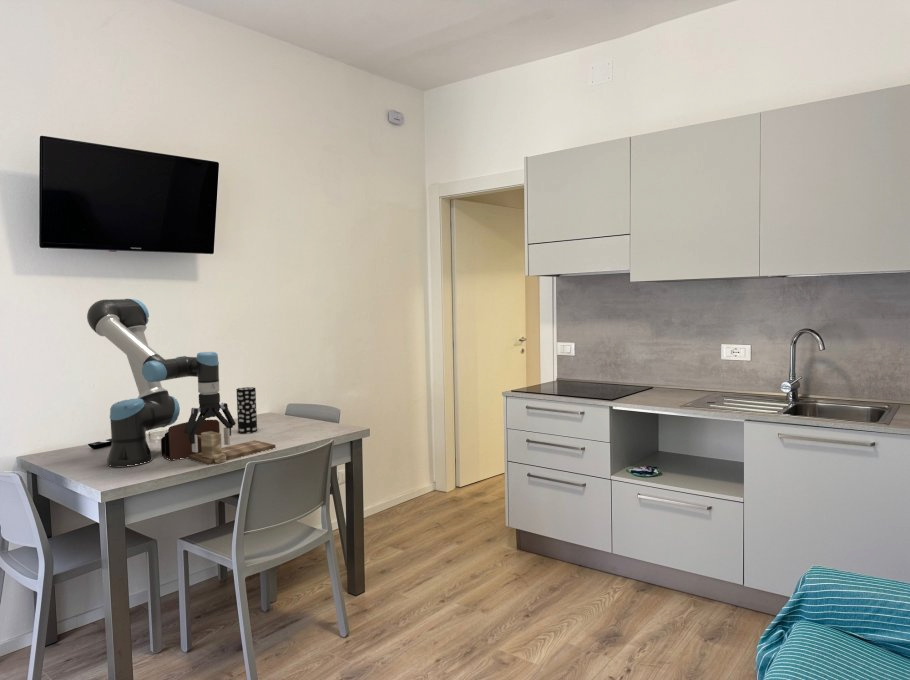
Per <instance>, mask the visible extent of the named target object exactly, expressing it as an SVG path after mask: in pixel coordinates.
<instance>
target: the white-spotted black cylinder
mask: <svg viewBox="0 0 910 680" xmlns="http://www.w3.org/2000/svg"><path fill="white" fill-rule="evenodd" d="M256 390H257V389H256V387H253V386H251V387H250V386H247V387H238V388H236V411H237V433H238V434H240V435H241V434H242V435H244V434H245V435H246V434H247V433H249V434H254V432H255V433H257V432H258V420H257V419H258V416H257V391H256Z"/></svg>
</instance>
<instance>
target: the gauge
mask: <svg viewBox="0 0 910 680" xmlns="http://www.w3.org/2000/svg"><path fill="white" fill-rule="evenodd" d="M197 438H198V439H201V447H202V456H203V457H206V458H210V459H214V460H215V463H214V464H220V463H224V462H226V461H227V460H226V454H224V453H222V448H223V447H222V433H221V432H220V433H216V432H212V431H209V432H204V433H201V435H198V436H197Z"/></svg>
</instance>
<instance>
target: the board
mask: <svg viewBox="0 0 910 680" xmlns="http://www.w3.org/2000/svg"><path fill="white" fill-rule="evenodd" d="M273 448H275V449H277V448H276V444H274V443H269V442H265V441H259V440H254V439H253V440H249V441H246V442H241V443H236V444H233V445H227V446H224V447H222V453H224V454H226V461H229V459H230V460H235V459H238V458H241V456H243V457H246V456H245V455H247V456H250V455H249V454H251V455H254V454H253V453H255V454H258V453H257V452H259V453H262V452H261V451H263V452H266V451H265V450H267V451H269V449H271V450H274V449H273ZM188 457H189V458H188V460H189V459H191V460H190V461H193V460H194V462H197V461H198V463H201V462H202V463H201V464H205V463H206V464H205V465H209V464H210V465H214V464H216V463H215V460H214V459H210V458H206V457H203V456H202V452H201V453H197V454H193V455H188ZM213 463H214V464H213Z"/></svg>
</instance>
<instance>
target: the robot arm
mask: <svg viewBox="0 0 910 680" xmlns="http://www.w3.org/2000/svg"><path fill="white" fill-rule="evenodd" d="M149 318H150V314H149V310H148V308H147V306H146V304H145V303H144V302H142V300H141V301H140V300H139V299H135V298H133V299H131V298H123V299H120V298H119V299H117V298H115V299H100V300H98V301H95V302H94V303H92V304H91V305H90V307H89V308H88V310H87V314H86V320H87V323H88V326H89V327H90V329H92V330H93V331H94V332H95V333H96V335H98V336H99V337H105V338H106V339H107V340H108V341H110V343H112V344H113V345H114V346H115V347H116V348H118V349H119V350H120V351H121V352H122V353H124V354H125V355H126V358H127V360H128V364H129V367H130V370H131V373H132V375H133V379H134V383H135V386H136V387H137V388H136V389H137V391H138V397H137V398H129V399H124V400H121V401H117V402H115V403H113V404H112V405H111V407H110V409H109V410H110V411H109V419H110V433H111V445H110V449H109V452H108V456H107V459H106V460H107V466H108V465H111V466H127V465H135V464H140V463H144V462H148V461H150V460H151V459H152V460H153V454H152V451H151V449H150V446H149V445H148V441H147V434H146V432H147V431H152V430H156V429H159V428H161V429H162V428H166V427H168V426H172V425H174V424H175V423H176V421H177V420H178V418H179V416H180V403H179V401H178V400H177V398H175V397H174V396H172V395H170V394H169V391H168V389H166V388H163V386H162V383H161V382H162V381H168V380H173V379H182V378H186V377H188V378H189V377H195V378H197V390H198V393H199V394H198V404H199V406H198V407H192V408H190V409H191V411H190V412H191V413H190V416H189V418H188V421H187V422H188V423H187V426H186V428H185V431H184V433H185V434H189V436H190V443H191V444H192V452H196V453H197V452H198V440H197V435H195V434H196V432H197V431H198V429H199V427H200V426H201V424H202V423H203V421H204V420H207V419H211V418H217V420H218V421H219V422H220V423H222V424H223V426H224V427H223V444H224V445H226V446H231V436H232V428H233V427H234V426H236V421H235V419H234V418H233V417H234V416H232V414H231V412H230V410H229V408H228V407H229V406H228V403H225V402H222V403H221V395H220V374H219V373H220V372H219V371H220V370H219V369H220V367H219V364H220V363H219V356H218V353H217V352H215V351H203V352H202V351H201V352H198V353H197V354H196V356H186V355H183V356H182V355H181V356H175V358H167V359H166V358H164V357H162V355H160V354H159V353H158V352H156V351H155V350H154V349H153V348H151V347H150V346H149V344H148V341H147V338H146V335H145V331H146V330H147V324H148V323H149ZM220 410H221V411H222V412H221V411H220ZM222 413H223V414H224V415H223V414H222ZM224 416H225V417H224ZM195 421H196V422H195ZM194 423H195V424H194ZM152 460H151V461H152ZM151 461H150V462H151ZM148 463H149V462H148ZM111 466H110V467H111Z"/></svg>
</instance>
